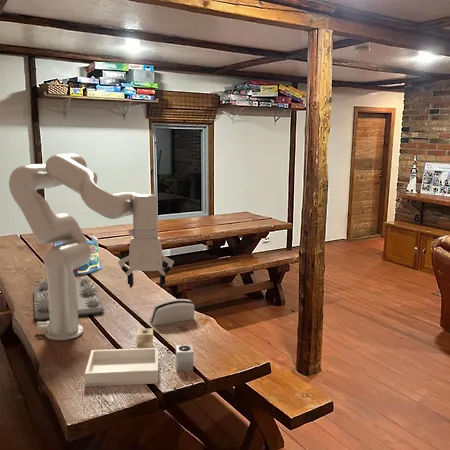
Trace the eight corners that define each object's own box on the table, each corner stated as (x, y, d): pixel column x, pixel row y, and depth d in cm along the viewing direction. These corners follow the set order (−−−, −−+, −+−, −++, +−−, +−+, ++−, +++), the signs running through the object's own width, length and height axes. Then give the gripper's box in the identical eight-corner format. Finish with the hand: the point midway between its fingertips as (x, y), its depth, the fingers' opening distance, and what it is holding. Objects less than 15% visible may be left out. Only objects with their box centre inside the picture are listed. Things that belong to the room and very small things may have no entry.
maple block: (137, 352, 147) (137, 335, 145) (137, 345, 151) (137, 328, 150) (152, 352, 147) (152, 334, 146) (152, 345, 152) (152, 328, 151)
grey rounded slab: (189, 314, 180) (193, 294, 175) (193, 322, 176) (198, 302, 171) (148, 320, 172) (151, 300, 167) (152, 329, 168) (155, 308, 164)
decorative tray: (104, 315, 177) (104, 291, 175) (32, 323, 166) (31, 298, 164) (93, 287, 208) (92, 266, 206) (31, 293, 198) (30, 271, 196)
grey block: (176, 371, 136) (176, 352, 135) (175, 363, 141) (175, 344, 140) (193, 370, 137) (193, 351, 136) (191, 362, 142) (192, 344, 140)
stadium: (46, 259, 249) (45, 234, 247) (90, 255, 261) (90, 231, 259) (58, 277, 220) (57, 248, 217) (107, 271, 232) (107, 244, 229)
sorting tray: (85, 386, 126) (84, 373, 125) (91, 362, 139) (91, 350, 138) (158, 383, 129) (158, 370, 128) (157, 359, 142) (157, 347, 142)
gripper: (115, 236, 137) (116, 290, 140) (172, 236, 138) (172, 290, 141) (120, 231, 145) (121, 282, 148) (174, 231, 145) (174, 283, 148)
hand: (146, 286), depth 144 cm, fingers open, 9 cm apart
